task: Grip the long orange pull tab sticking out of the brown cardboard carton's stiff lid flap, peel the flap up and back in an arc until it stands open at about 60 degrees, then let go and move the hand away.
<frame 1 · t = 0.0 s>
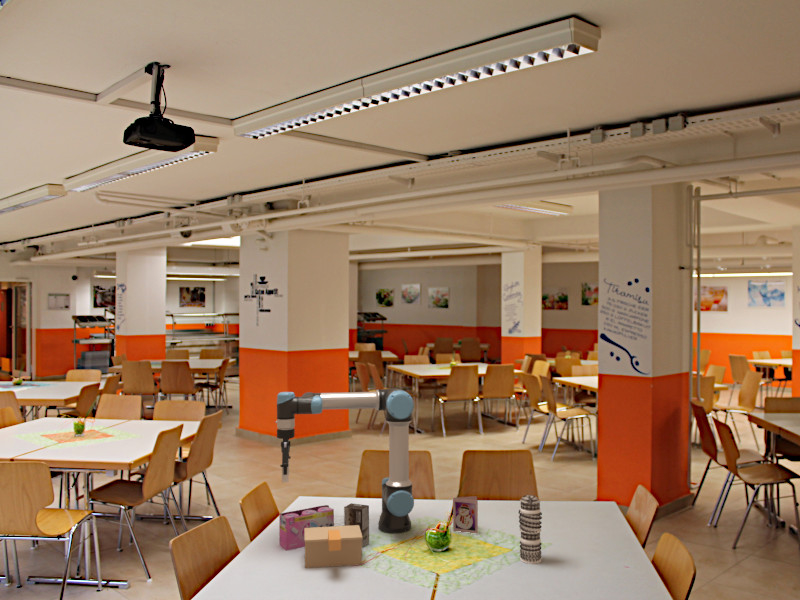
hand: (285, 478, 273), 28 cm above the table, tool pointing down, fingers open, 13 cm apart
gum box: (307, 543, 274), on the table
cardboard carton: (332, 559, 255), on the table
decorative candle: (530, 560, 254), on the table
greeting card: (467, 531, 289), on the table
coffee box: (356, 544, 272), on the table
lid flap: (333, 533, 249), point 12 cm above the table, hinge at 0.0°
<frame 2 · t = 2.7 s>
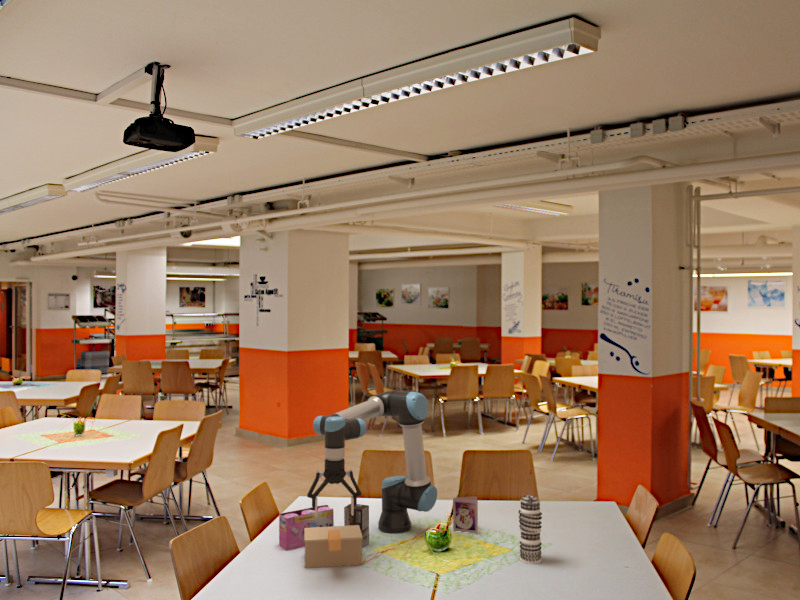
hand: (334, 515, 240), 22 cm above the table, tool pointing down, fingers open, 13 cm apart
nothing on the table moved.
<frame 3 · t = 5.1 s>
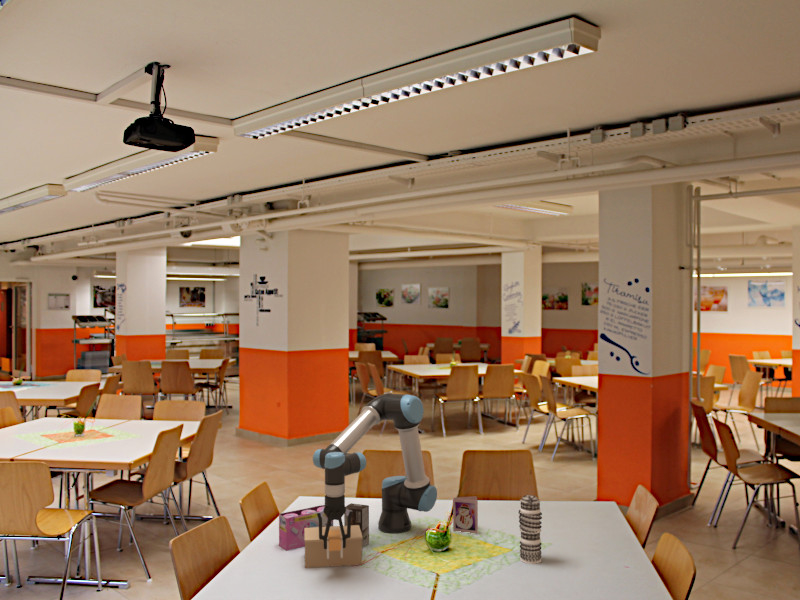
hand: (334, 556, 239), 7 cm above the table, tool pointing down, fingers closed on lid flap, 4 cm apart
lid flap: (333, 533, 249), point 12 cm above the table, hinge at 0.0°, touching gripper
everything else where it was.
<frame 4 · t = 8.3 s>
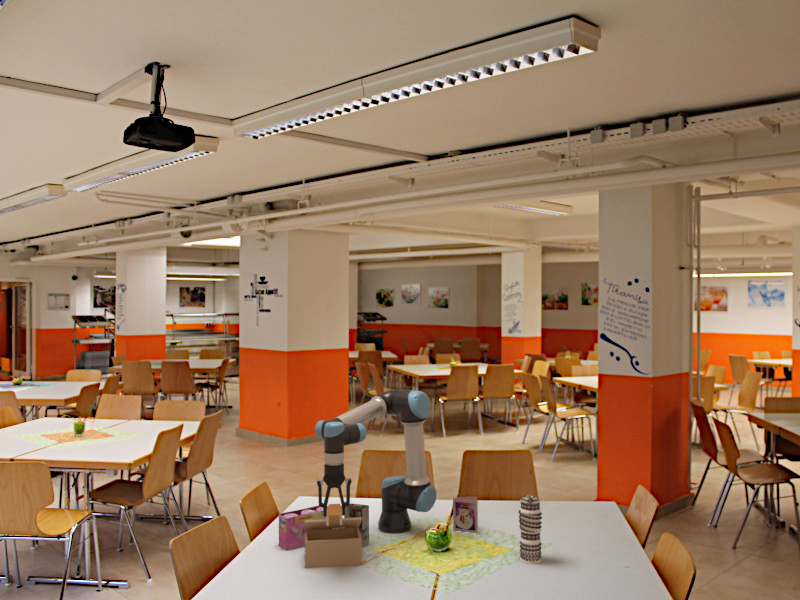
hand: (334, 524, 244), 18 cm above the table, tool pointing down, fingers closed on lid flap, 4 cm apart
lid flap: (333, 516, 252), point 18 cm above the table, hinge at 28.8°, touching gripper
everything else where it was.
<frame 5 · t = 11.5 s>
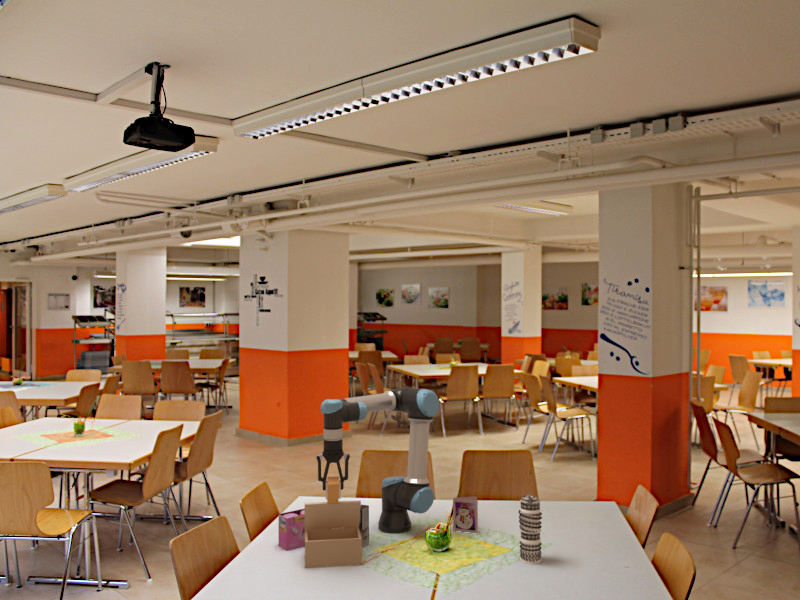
hand: (333, 497, 253), 25 cm above the table, tool pointing down, fingers closed on lid flap, 4 cm apart
lid flap: (332, 503, 257), point 22 cm above the table, hinge at 57.7°, touching gripper
everything else where it was.
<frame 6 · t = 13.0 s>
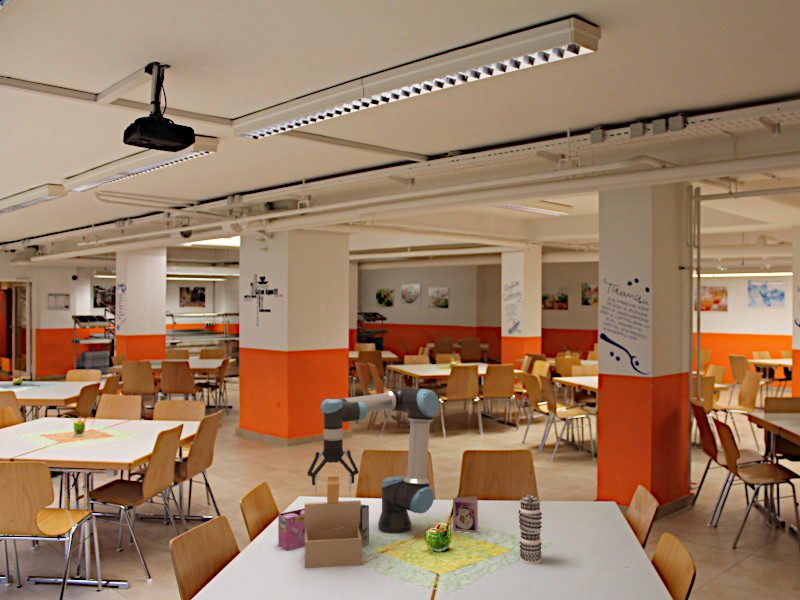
hand: (333, 492, 253), 27 cm above the table, tool pointing down, fingers open, 13 cm apart
lid flap: (332, 503, 257), point 22 cm above the table, hinge at 57.8°
everything else where it was.
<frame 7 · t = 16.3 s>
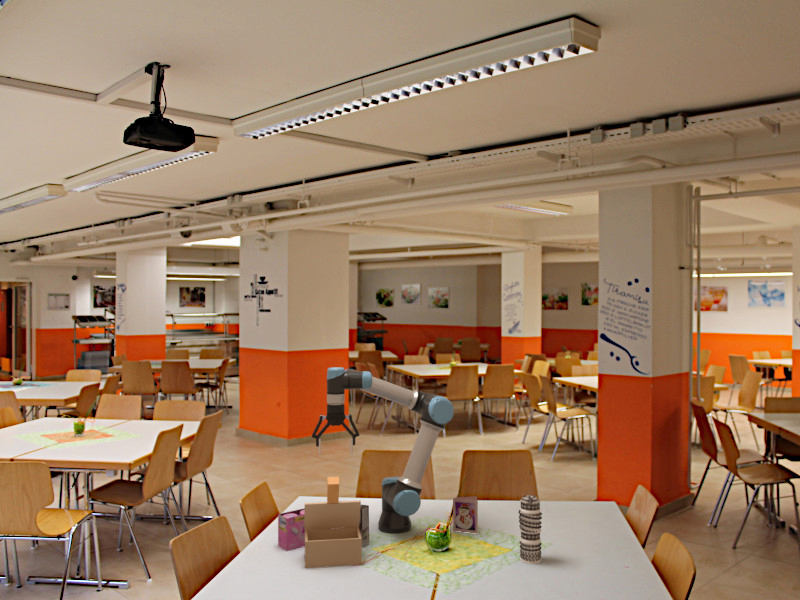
hand: (335, 453, 272), 39 cm above the table, tool pointing down, fingers open, 13 cm apart
at the end: lid flap at +58° (first picture: +0°); the gripper is holding nothing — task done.
